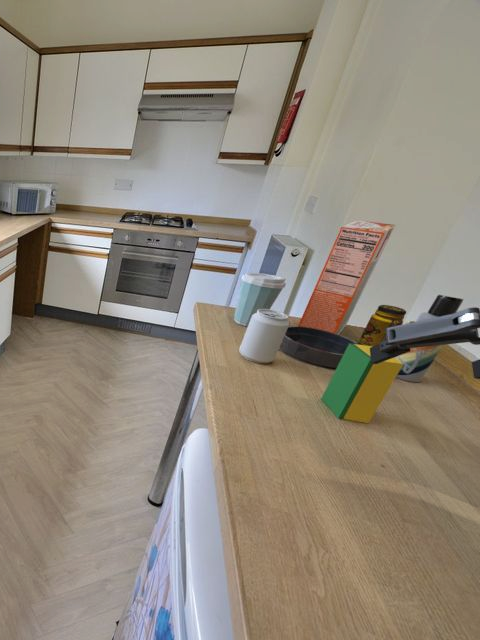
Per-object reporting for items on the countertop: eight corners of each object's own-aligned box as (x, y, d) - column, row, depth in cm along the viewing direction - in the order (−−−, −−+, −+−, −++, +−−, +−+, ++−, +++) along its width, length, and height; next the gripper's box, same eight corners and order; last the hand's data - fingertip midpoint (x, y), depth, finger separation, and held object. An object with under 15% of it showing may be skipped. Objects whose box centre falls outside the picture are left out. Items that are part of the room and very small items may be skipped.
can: (230, 353, 103) (247, 308, 97) (250, 349, 106) (267, 305, 100) (259, 367, 97) (279, 320, 91) (280, 362, 99) (299, 316, 94)
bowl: (377, 372, 97) (385, 357, 95) (306, 368, 97) (313, 353, 95) (321, 340, 113) (328, 327, 111) (260, 337, 112) (265, 324, 111)
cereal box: (313, 317, 129) (357, 220, 116) (345, 326, 124) (395, 225, 111) (293, 335, 115) (341, 226, 102) (329, 345, 110) (384, 232, 97)
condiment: (347, 344, 111) (368, 303, 106) (372, 343, 113) (394, 302, 107) (375, 357, 105) (398, 313, 99) (401, 356, 106) (426, 313, 101)
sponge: (348, 403, 84) (379, 347, 78) (368, 423, 78) (403, 364, 72) (320, 399, 85) (349, 343, 79) (338, 418, 79) (370, 359, 73)
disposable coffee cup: (218, 318, 124) (235, 270, 118) (241, 314, 128) (258, 268, 122) (252, 332, 115) (272, 281, 109) (276, 328, 120) (296, 278, 113)
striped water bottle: (387, 375, 96) (433, 295, 87) (387, 367, 100) (431, 289, 91) (421, 385, 92) (473, 302, 84) (419, 376, 96) (469, 296, 87)
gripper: (458, 320, 47) (334, 371, 67) (757, 356, 42) (526, 400, 61) (449, 264, 49) (331, 329, 69) (731, 291, 44) (516, 354, 64)
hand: (422, 363), depth 65 cm, fingers open, 13 cm apart
